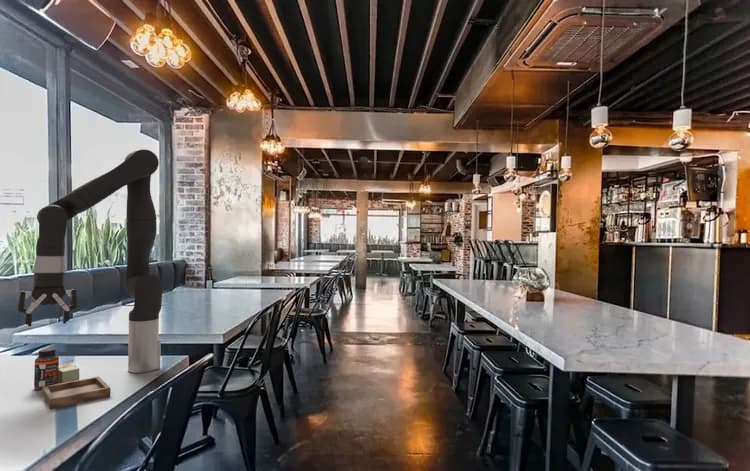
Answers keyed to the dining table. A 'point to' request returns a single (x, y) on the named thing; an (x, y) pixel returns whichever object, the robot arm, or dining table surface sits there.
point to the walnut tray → (75, 392)
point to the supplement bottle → (46, 368)
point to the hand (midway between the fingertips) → (47, 324)
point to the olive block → (68, 374)
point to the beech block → (67, 365)
